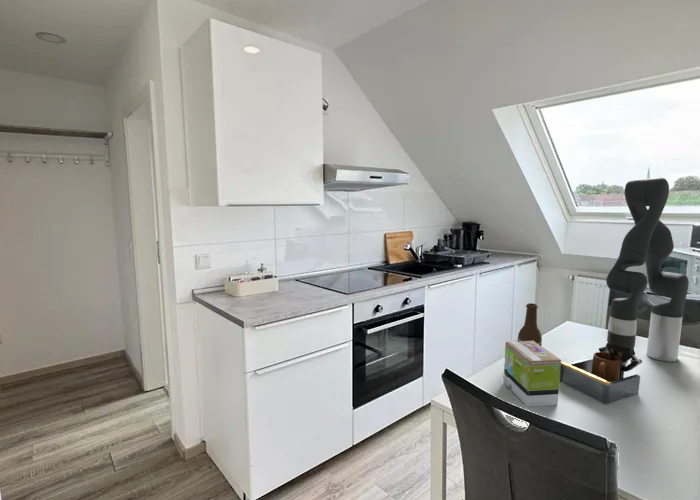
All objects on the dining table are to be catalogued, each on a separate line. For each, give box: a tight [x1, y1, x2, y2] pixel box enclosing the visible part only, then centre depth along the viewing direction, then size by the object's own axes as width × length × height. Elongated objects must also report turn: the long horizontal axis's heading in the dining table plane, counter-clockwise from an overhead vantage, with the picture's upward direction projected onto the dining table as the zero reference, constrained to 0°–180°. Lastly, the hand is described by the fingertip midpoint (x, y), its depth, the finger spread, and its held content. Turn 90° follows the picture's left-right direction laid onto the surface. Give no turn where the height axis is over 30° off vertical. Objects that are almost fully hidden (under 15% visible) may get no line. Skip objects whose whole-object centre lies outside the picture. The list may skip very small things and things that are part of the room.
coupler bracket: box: [559, 356, 641, 405], centre depth 123 cm, size 16×15×7 cm
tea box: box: [503, 340, 562, 407], centre depth 118 cm, size 15×10×15 cm
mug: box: [592, 351, 620, 382], centre depth 124 cm, size 12×8×9 cm, turn 136°
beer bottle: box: [517, 303, 543, 346], centre depth 135 cm, size 8×8×24 cm
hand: (617, 380), depth 127 cm, fingers closed
